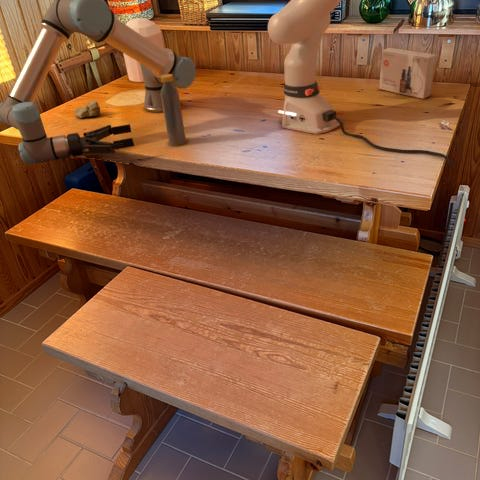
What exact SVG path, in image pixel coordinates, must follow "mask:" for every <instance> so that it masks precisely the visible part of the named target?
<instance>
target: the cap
mask: <svg viewBox="0 0 480 480" xmlns="http://www.w3.org/2000/svg"><path fill="white" fill-rule="evenodd" d="M160 77H161V82H170V81H173V75H172V74H165V75H162V76H160Z"/></svg>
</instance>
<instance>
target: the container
mask: <svg viewBox="0 0 480 480" xmlns="http://www.w3.org/2000/svg"><path fill="white" fill-rule="evenodd" d="M124 24H125V25H127V26H128V27H130V28H131V29H133V30H134V31H136V32H137V33H139V34H140V35H142V36H143V37H145V38H146V39H148V40H149V41H151V42H152V43H154V44H156V45H157V46H159V47H160V48H165V45H164V39H163V32H162V30H161V29H160V27H159V26H158V25H157V24H156V23H155V22H154V21H152V20H150V19H148V18H144V17H136V18H132V19H129V20H128V21H127V22H126V23H124ZM122 54H123V59H124V63H125V68H126V72H127V77H128V80H129V81H130V82H134V83H144V80H143V75H142V70H141V65H140V62H138V61H136V60H134V59H133V58H131V57H129V56H128V55H126V54H124V53H123V52H122Z"/></svg>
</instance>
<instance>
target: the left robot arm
mask: <svg viewBox="0 0 480 480" xmlns="http://www.w3.org/2000/svg"><path fill="white" fill-rule="evenodd" d="M125 24H126V23H124V22H122V21H120V20H119V19H117V18H116V14H115V11H113V9H111V8H110V7H109V5H108V4H107V2H106V1H105V0H53V1H52V2H51V4H50V5H49V6H48V8H47V10H46V12H45V13H44V16H43V17H42V19H41V21H40V23H39V25H40V28H41V30H40V32H39V33H38V35H37V37H36V40H35V41H34V43H33V45H32V47H31V50H30V52H29V53H28V56H27V58H26V59H25V61H24V64H23V66H22V68H21V70H20V72H19V74H18V76H17V78H16V79H15V82H14V83H13V86H12V88H11V90H10V92H9V94H8V96H7V98H6V100H5V101H2V102H0V122H2V123H4V125H6V126H10V127H12V128H14V129H16V130H18V132H19V133H20V136H21V139H22V141H20V142H19V143H18V152H19V155H20V158H21V161H22V162H23V163H24V164H26V165H33V164H41V163H46V162H50V161H56V160H61V159H62V160H66V158H71V157H78V156H79V157H81V156H83V155H87V154H115V153H116V150H121V149H127V148H133V147H135V142H134V138H133V137H129V138H124V139H123V138H122V139H118V140H112V142H111V141H101V140H103V139H106V138H107V137H110V136H111V135H113V136H117V135H122V134H129V133H132V128H131V124H130V123H129V124H123V125H117V126H112V125H111V124H108V125H105V126H102V127H98V128H96V129H93V130H90V131H87V132H83V134H82V135H83V136H80V134H79V133H78V132H74V133H73V132H72V133H68V134H60V135H55V136H50V137H48V136H47V133H46V130H45V126H44V123H43V120H42V117H41V113H40V111H39V109H38V106H37V105H36V103H35V102H34V101H35V100H36V98H37V95H38V94H39V91H40V90H41V88H42V85H43V83H44V81H45V79H46V77H47V76H48V74H49V72H50V70H51V68H52V66H53V64H54V62H55V60H56V58H57V56H58V54H59V52H60V50H61V48H62V46H63V44H64V43H67V42H68V41H69V40H70V37H71V36H72V35H73V34H74V33H78V34H81V35H83V36H84V37H86V38H88V39H90V40H92V41H94V42H95V43H97V44H101V43H106V44H107V45H109V46H111V47H113V48H114V49H115V50H118V51H119V52H121V53H122V54H123V53H124V54H126V55H128V56H129V57H131V58H133V59H134V60H136V61H138V62H140V65H141V70H142V75H143V80H144V82H143V85H144V89H145V93H144V103H143V107H144V111H146V112H149V113H164V111H163V106H162V100H161V95H160V93H161V89H162V87H163V84H164V83H163V82H161V77H160V76H162V75H165V74H172V75H173V81H172V83H173V85H175V87H176V88H177V89H179V90H180V89H188V88H189V87H191V85H192V84H193V83H194V81H195V78H196V74H197V70H196V65H195V62H194V61H193V60H192V59H191V58H189V57H187V56H182V55H180V54H178V53H176V51H174V50H172V49H171V48H167V47H166V48H165V47H164V48H160V47H159V46H157V45H156V44H154V43H152V42H151V41H149V40H148V39H146V38H145V37H143V36H142V35H140V34H139V33H137V32H136V31H134V30H133V29H131V28H130V27H128V26H127V25H125ZM124 54H123V55H124Z"/></svg>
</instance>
